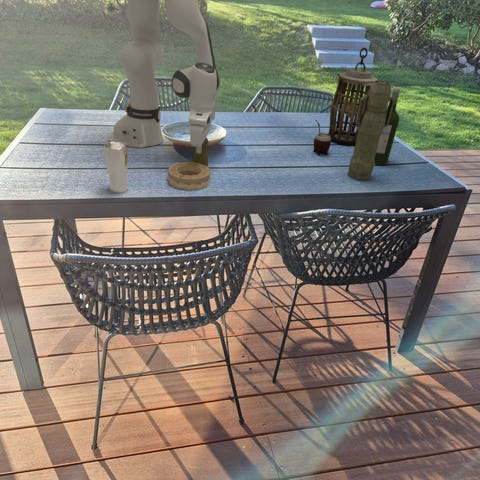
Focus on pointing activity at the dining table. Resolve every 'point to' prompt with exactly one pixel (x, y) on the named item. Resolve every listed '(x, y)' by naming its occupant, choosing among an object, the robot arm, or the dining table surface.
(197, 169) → the tan faceted ring
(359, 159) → the thermos
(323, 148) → the mate gourd
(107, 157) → the beer glass
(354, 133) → the lantern
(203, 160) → the dark brown rounded piece
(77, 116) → the dining table surface
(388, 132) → the wine bottle
